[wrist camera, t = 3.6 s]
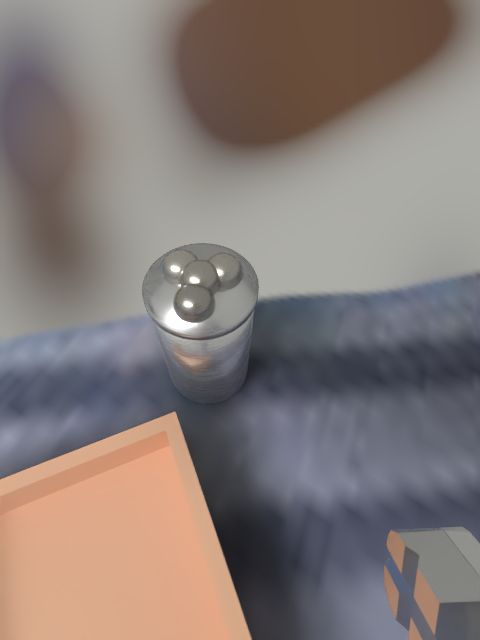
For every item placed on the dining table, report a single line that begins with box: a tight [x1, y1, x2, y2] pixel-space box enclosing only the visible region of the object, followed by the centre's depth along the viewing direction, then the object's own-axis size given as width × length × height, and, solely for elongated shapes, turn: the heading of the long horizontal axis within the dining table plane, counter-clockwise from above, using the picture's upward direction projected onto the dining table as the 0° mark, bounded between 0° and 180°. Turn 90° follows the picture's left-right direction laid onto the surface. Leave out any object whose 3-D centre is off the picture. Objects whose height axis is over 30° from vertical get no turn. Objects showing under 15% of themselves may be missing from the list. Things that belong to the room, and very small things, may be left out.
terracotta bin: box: [0, 412, 253, 640], centre depth 16 cm, size 15×15×4 cm
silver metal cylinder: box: [142, 243, 259, 404], centre depth 21 cm, size 6×6×11 cm
